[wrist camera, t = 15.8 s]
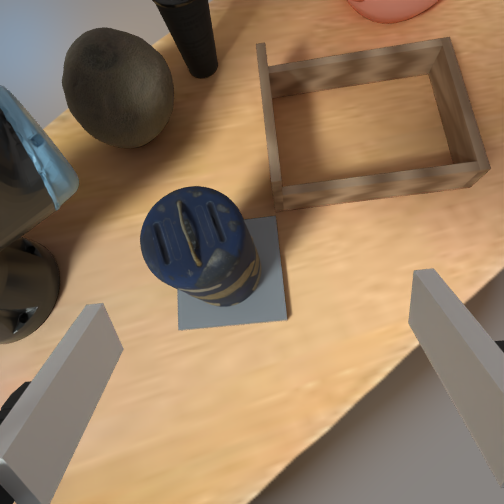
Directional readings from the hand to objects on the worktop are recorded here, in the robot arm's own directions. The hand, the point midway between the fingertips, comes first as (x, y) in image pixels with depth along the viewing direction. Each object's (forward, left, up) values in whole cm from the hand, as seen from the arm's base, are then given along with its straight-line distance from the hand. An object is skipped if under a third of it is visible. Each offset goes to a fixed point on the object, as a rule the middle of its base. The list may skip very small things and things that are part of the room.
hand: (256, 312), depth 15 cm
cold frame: (+14, +27, -30) cm, 42 cm away
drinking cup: (-8, +44, -30) cm, 54 cm away
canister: (-6, +8, -29) cm, 31 cm away
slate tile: (-6, +9, -30) cm, 32 cm away
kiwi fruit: (-18, +34, -30) cm, 48 cm away
